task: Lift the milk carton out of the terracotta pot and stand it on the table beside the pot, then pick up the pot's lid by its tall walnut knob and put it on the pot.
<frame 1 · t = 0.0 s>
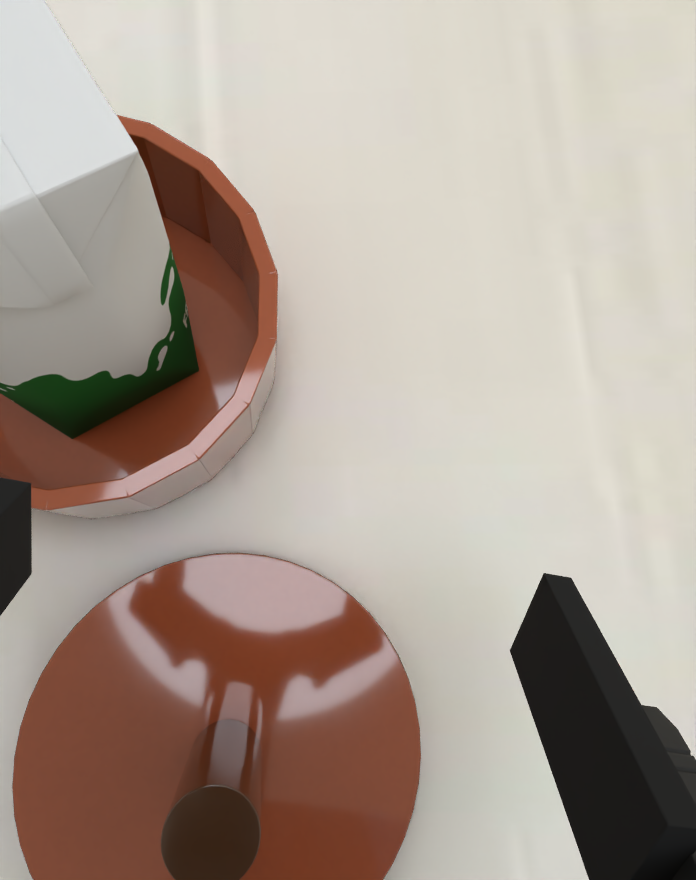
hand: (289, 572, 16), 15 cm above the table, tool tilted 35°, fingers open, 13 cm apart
lid: (226, 752, 28), point 1 cm above the table
milk carton: (106, 348, 31), resting on pot
pot: (106, 349, 31), on the table
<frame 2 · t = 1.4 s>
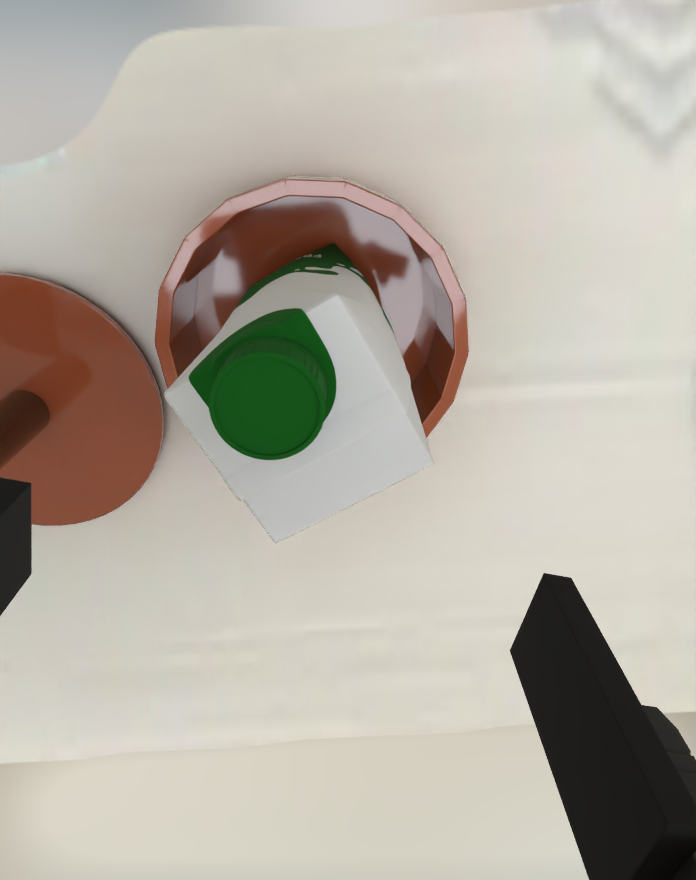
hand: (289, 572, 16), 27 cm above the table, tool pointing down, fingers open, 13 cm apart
lid: (29, 408, 41), point 1 cm above the table
milk carton: (316, 319, 40), resting on pot
pot: (316, 318, 40), on the table
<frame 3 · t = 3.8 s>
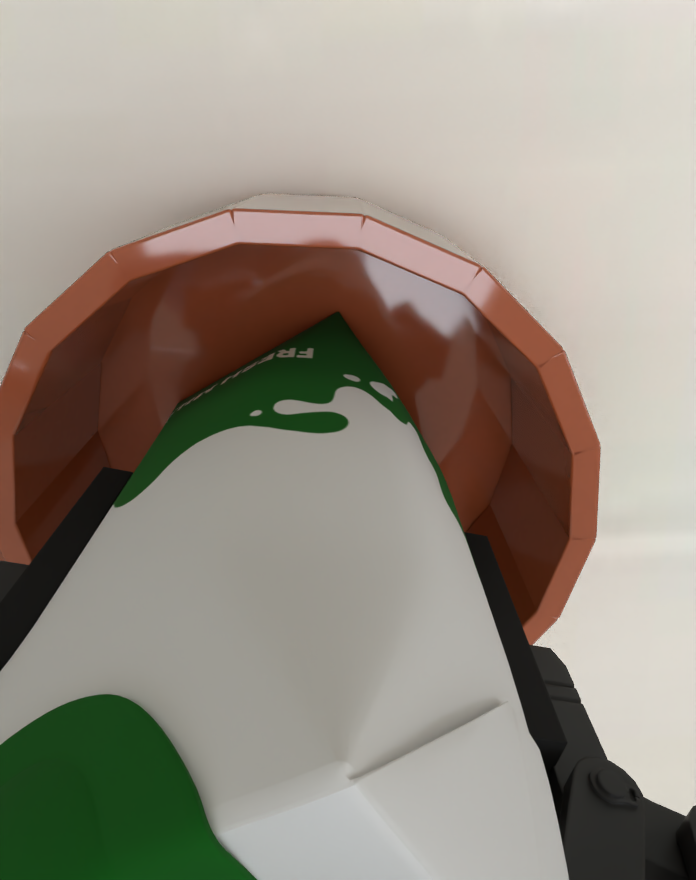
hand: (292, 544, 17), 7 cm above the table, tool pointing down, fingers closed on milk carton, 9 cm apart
milk carton: (307, 434, 23), resting on pot, touching gripper
pot: (307, 433, 23), on the table
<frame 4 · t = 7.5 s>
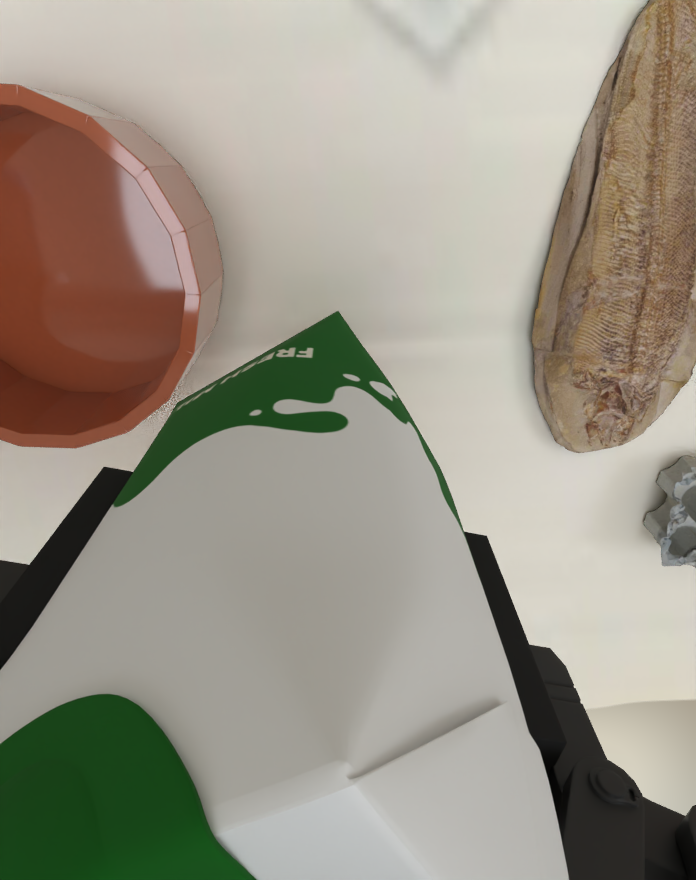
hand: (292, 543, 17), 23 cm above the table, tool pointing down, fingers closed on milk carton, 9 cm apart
fish fossil: (635, 247, 36), on the table
milk carton: (307, 434, 23), point 15 cm above the table, touching gripper
pot: (74, 265, 35), on the table
when the fingers open (7 cm above the table, at t = 11.5 s): milk carton stays where it is, on the table.
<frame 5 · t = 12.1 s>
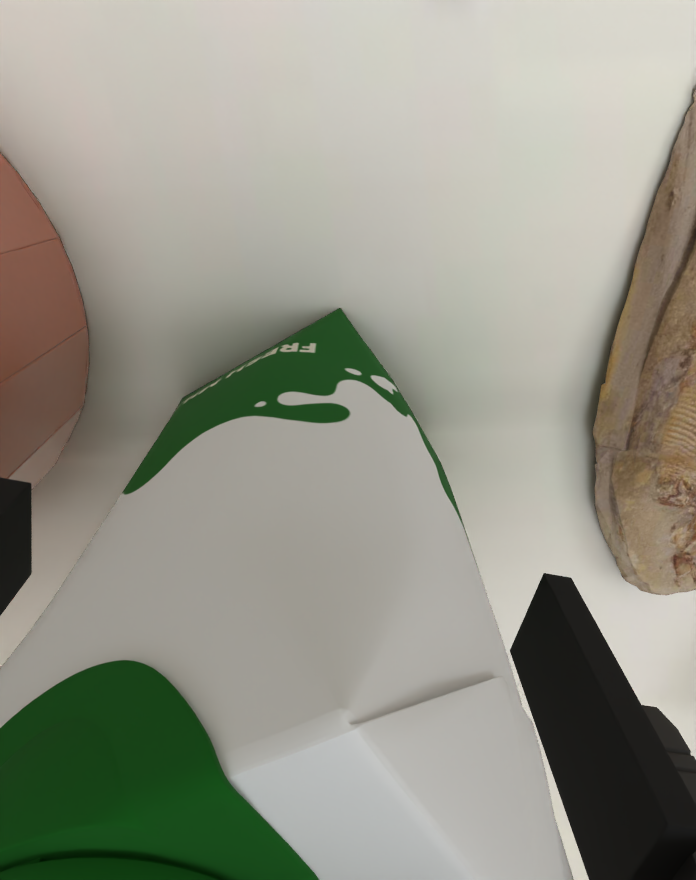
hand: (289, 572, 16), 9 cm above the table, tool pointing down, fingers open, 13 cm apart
milk carton: (309, 429, 24), on the table
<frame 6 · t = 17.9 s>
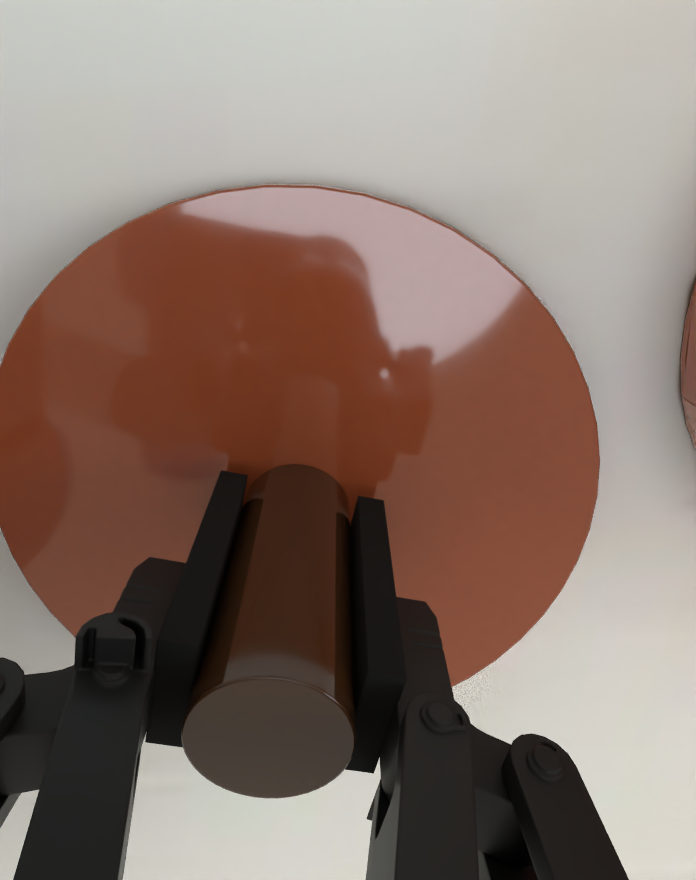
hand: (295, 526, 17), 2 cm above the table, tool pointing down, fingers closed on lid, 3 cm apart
lid: (298, 500, 19), point 1 cm above the table, touching gripper
when the fingers open (8 cm above the table, at t = 24.5 s): lid stays where it is, resting on pot.
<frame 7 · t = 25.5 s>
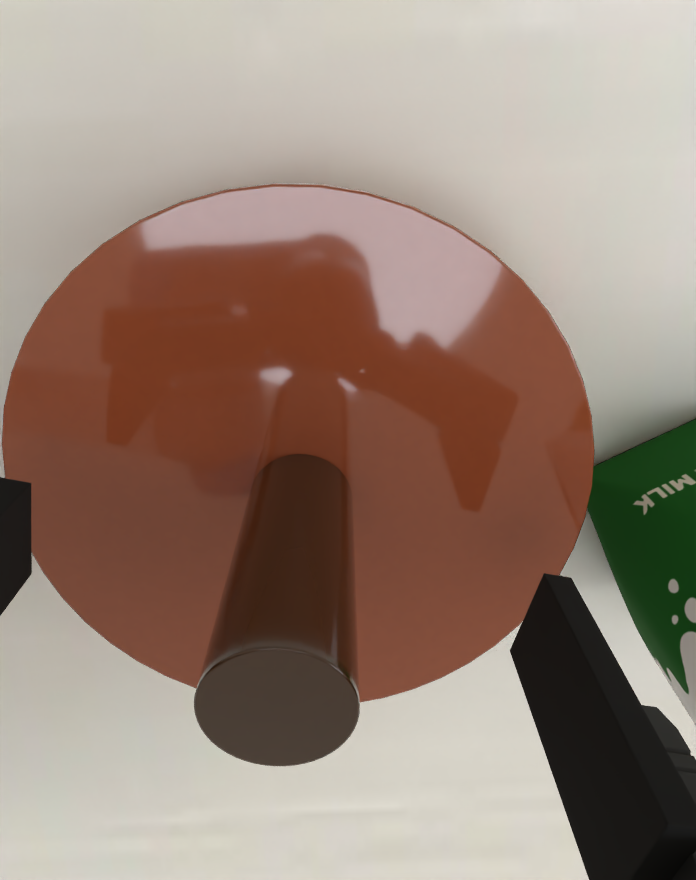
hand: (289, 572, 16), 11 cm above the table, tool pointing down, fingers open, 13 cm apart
lid: (302, 489, 19), point 7 cm above the table, touching pot
milk carton: (669, 499, 28), on the table
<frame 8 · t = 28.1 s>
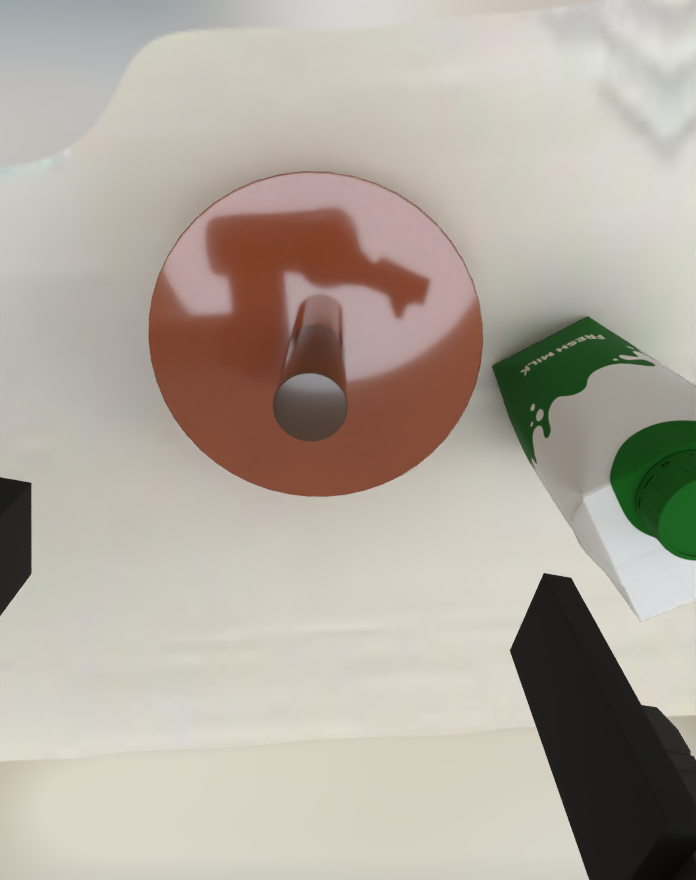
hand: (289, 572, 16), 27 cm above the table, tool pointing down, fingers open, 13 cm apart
lid: (316, 350, 34), point 7 cm above the table, touching pot
milk carton: (557, 384, 42), on the table
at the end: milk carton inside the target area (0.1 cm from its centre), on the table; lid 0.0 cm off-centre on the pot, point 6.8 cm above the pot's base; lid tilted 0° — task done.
